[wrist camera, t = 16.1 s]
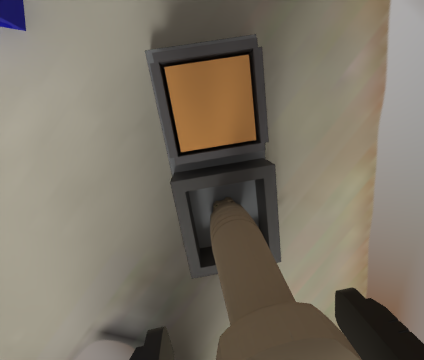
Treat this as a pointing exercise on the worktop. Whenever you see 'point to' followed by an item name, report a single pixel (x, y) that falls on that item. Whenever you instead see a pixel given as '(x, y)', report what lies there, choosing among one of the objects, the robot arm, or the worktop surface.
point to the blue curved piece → (12, 14)
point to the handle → (264, 299)
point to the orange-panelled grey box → (217, 156)
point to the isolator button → (212, 102)
